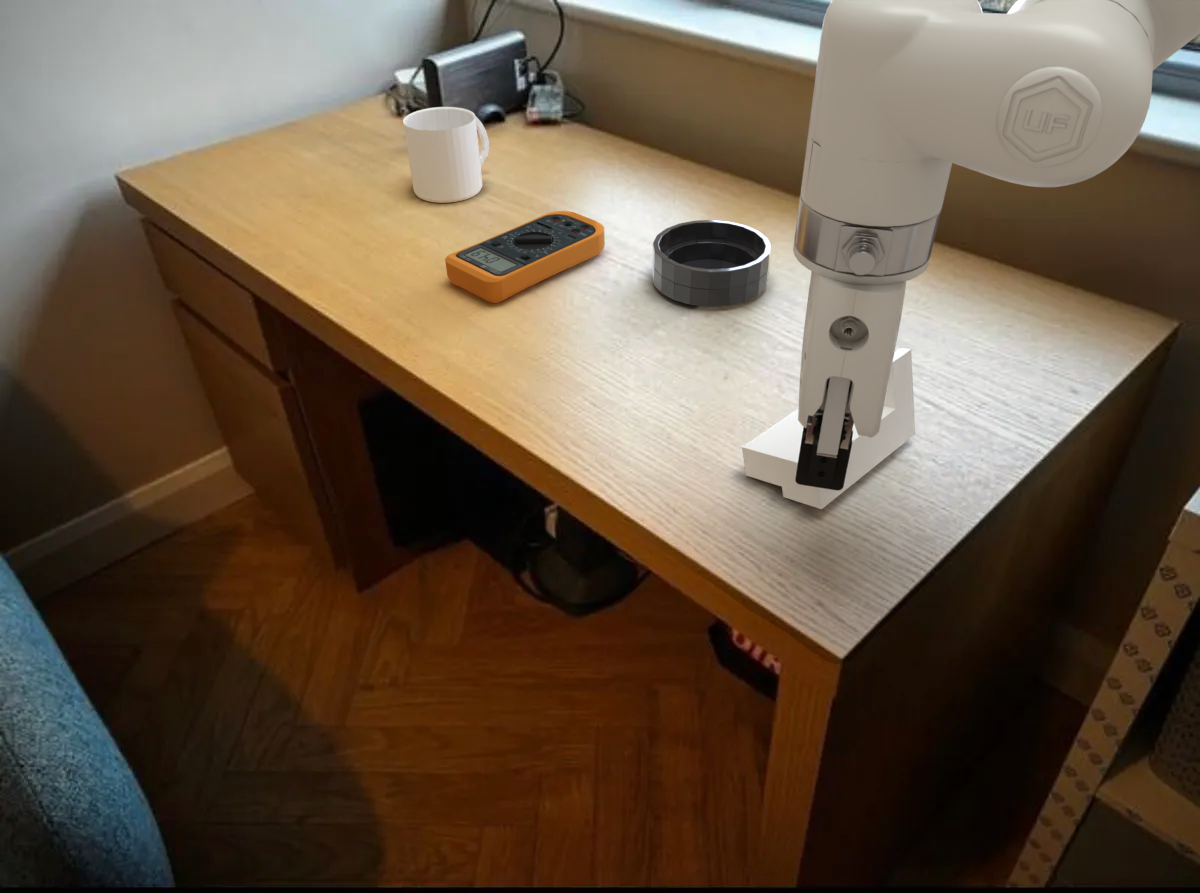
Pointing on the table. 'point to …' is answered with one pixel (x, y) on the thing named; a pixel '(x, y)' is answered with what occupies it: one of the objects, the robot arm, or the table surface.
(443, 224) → the table surface
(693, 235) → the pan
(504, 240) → the multimeter
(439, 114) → the mug
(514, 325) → the table surface
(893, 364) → the bracket
